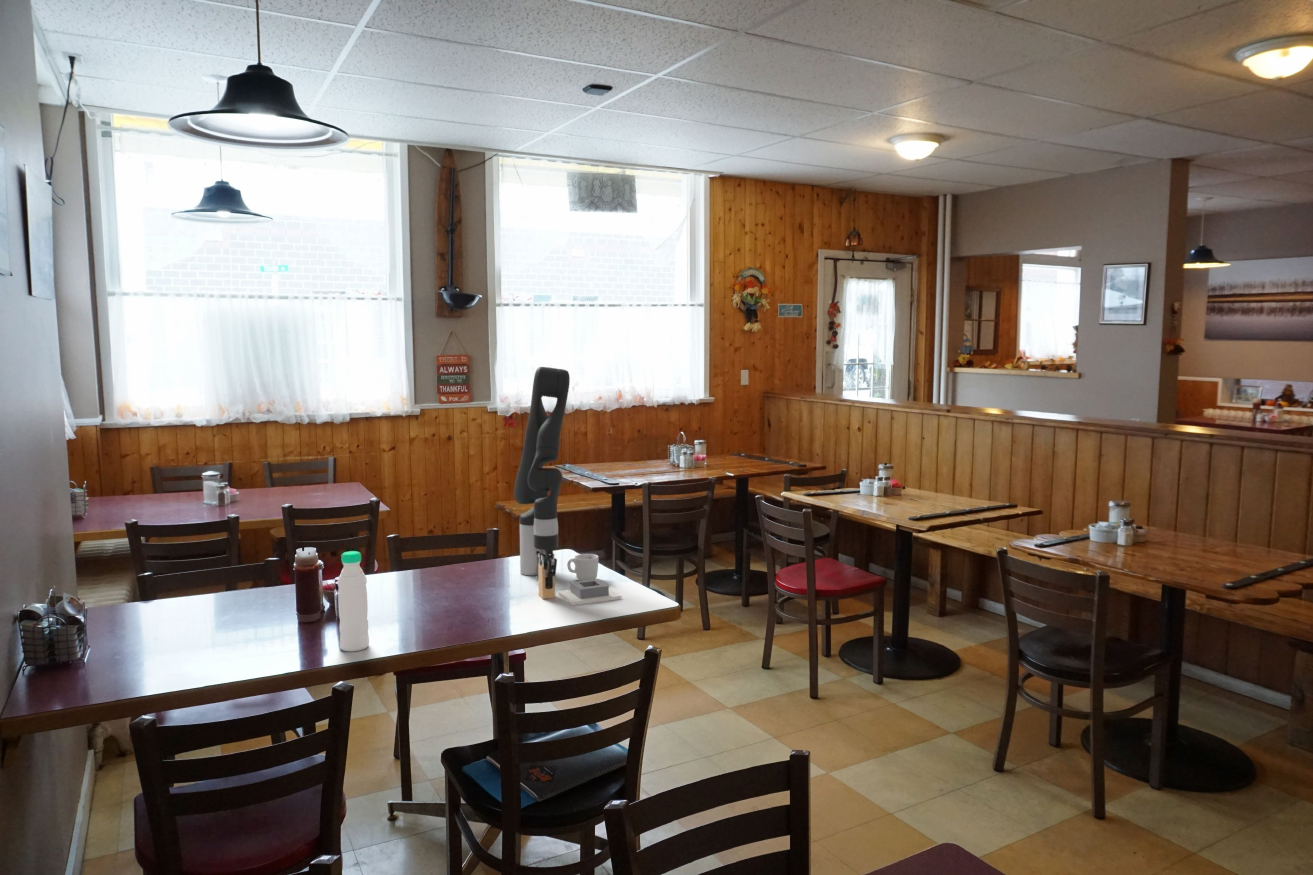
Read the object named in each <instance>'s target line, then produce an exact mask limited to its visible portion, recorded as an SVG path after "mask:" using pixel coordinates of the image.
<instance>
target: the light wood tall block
mask: <svg viewBox="0 0 1313 875" xmlns="http://www.w3.org/2000/svg"><path fill="white" fill-rule="evenodd" d="M546 567H547V566H546ZM550 572H551V570H550ZM537 577H538V597H539V596H540V597H539V598H540V599H542V600H546V598H547V599H548V598H549V599H556V575H555V576H553V588H552V589H546V588H545V570H544V569H543V566H542V565H539V564H538V575H537Z"/></svg>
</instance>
